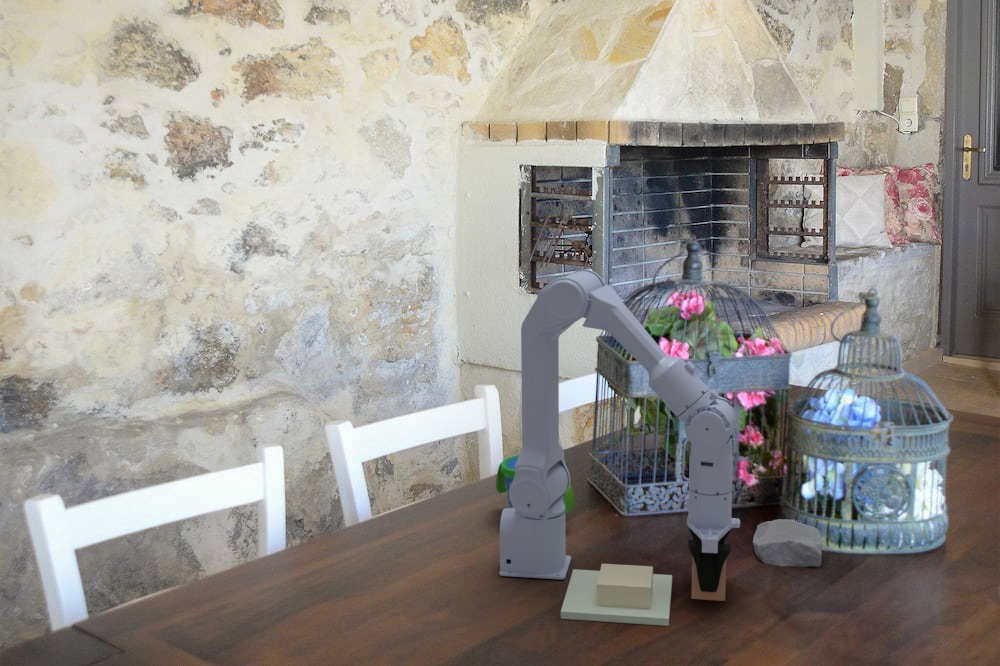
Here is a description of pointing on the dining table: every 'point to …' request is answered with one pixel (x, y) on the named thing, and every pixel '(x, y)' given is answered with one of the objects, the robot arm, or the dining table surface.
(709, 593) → the top brick
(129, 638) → the dining table surface
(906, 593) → the dining table surface
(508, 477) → the snack cup
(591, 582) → the base plate
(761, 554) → the stone block
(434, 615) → the dining table surface
